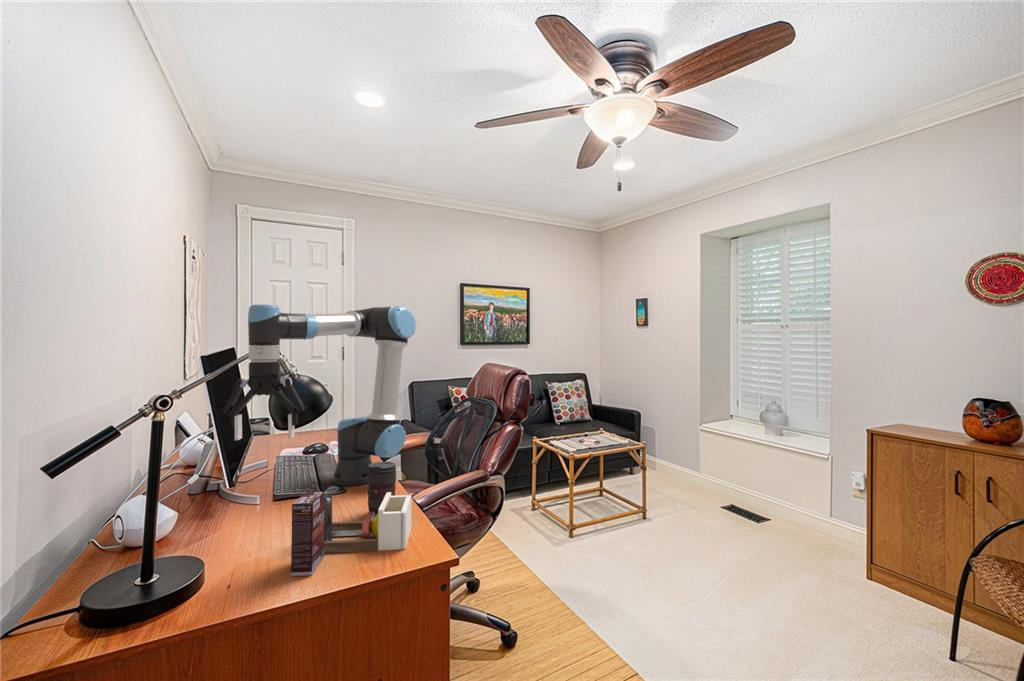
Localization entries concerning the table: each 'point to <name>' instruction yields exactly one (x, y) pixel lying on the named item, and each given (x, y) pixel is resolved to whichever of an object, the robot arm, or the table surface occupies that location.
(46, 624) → the table surface
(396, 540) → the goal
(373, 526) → the tennis ball
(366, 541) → the rails
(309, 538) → the supplement box
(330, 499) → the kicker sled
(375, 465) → the camera lens
